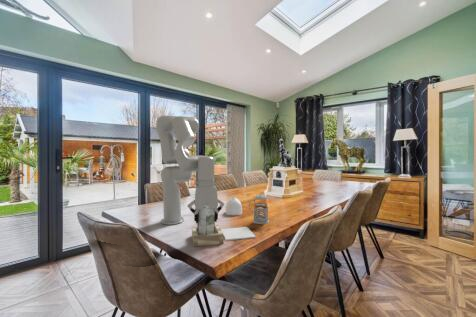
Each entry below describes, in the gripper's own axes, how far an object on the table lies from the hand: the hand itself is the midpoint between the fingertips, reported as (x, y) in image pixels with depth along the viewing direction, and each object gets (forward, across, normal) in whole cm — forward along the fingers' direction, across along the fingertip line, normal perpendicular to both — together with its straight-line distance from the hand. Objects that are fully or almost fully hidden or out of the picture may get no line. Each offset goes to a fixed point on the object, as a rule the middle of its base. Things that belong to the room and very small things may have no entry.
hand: (206, 221), depth 108 cm
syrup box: (+6, 0, 0) cm, 6 cm away
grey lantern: (+8, +32, +18) cm, 38 cm away
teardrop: (+9, +22, +39) cm, 46 cm away
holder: (+8, 0, -1) cm, 8 cm away
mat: (+8, +15, +2) cm, 17 cm away
